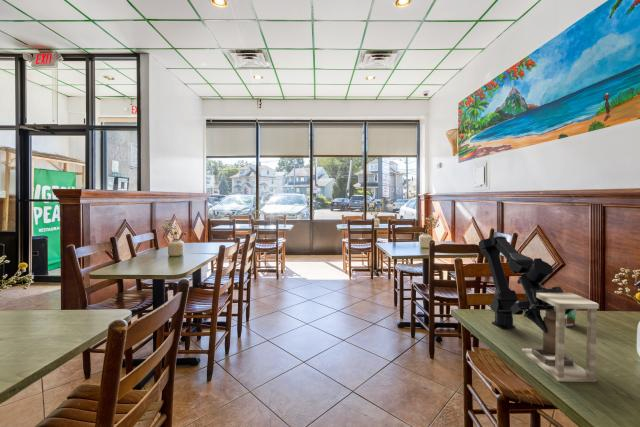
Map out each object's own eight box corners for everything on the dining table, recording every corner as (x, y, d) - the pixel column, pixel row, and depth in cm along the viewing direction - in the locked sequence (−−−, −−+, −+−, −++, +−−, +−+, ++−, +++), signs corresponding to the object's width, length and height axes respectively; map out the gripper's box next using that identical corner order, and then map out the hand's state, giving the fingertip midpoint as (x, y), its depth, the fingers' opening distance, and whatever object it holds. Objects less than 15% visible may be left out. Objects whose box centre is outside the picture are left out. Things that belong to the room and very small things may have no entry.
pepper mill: (541, 345, 105) (542, 308, 104) (557, 348, 103) (558, 310, 102) (544, 351, 101) (545, 313, 100) (561, 354, 99) (562, 314, 98)
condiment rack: (521, 351, 109) (522, 286, 108) (553, 351, 109) (554, 286, 107) (558, 381, 91) (559, 303, 90) (596, 381, 91) (598, 303, 90)
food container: (585, 329, 125) (585, 305, 125) (568, 328, 127) (568, 305, 126) (567, 318, 137) (567, 296, 137) (552, 317, 139) (552, 295, 138)
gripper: (516, 277, 105) (536, 322, 95) (572, 277, 104) (599, 322, 94) (503, 293, 114) (520, 335, 103) (555, 293, 112) (578, 336, 102)
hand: (554, 332), depth 100 cm, fingers closed on pepper mill, 4 cm apart
